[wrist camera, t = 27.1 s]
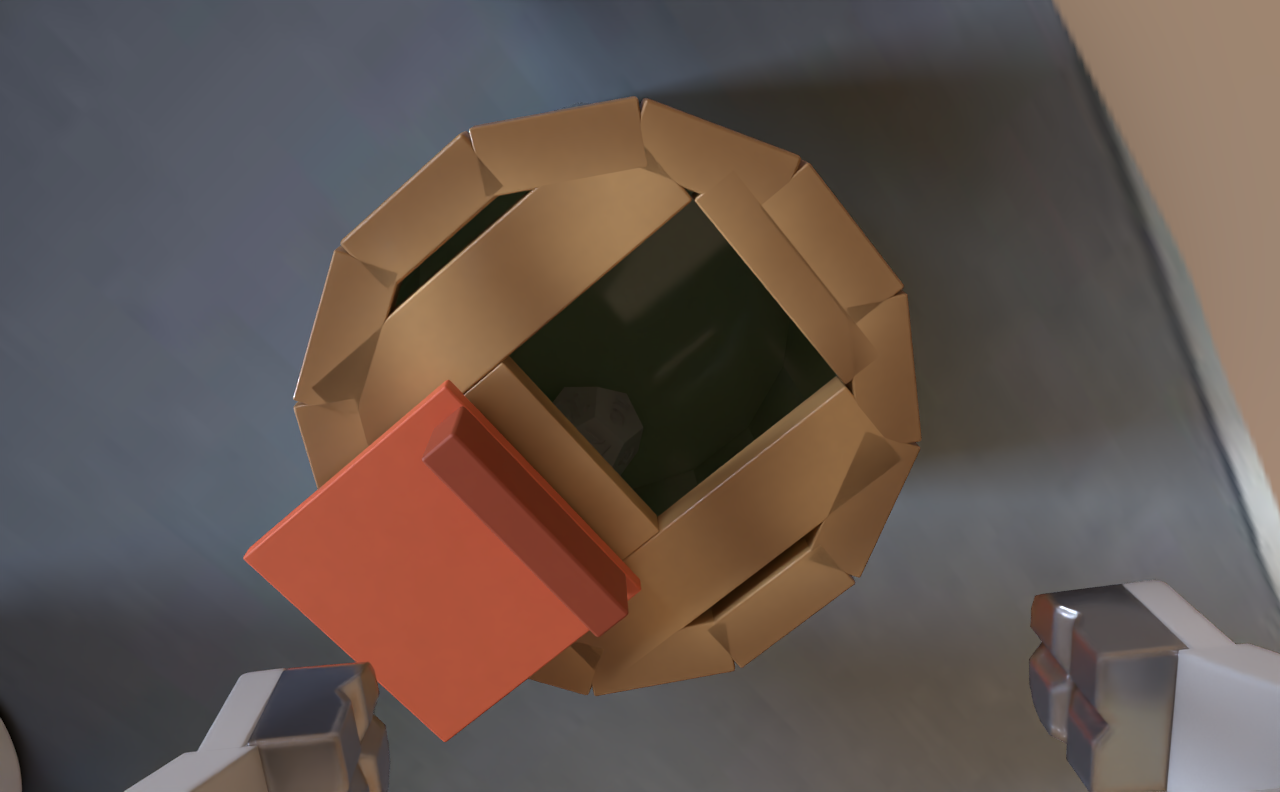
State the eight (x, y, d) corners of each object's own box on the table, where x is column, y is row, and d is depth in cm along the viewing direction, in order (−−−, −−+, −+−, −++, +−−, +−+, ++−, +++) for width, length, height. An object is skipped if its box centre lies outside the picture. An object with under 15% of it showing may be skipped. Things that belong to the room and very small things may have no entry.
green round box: (585, 569, 40) (585, 747, 30) (316, 291, 37) (207, 384, 26) (883, 333, 38) (996, 437, 28) (629, 11, 34) (648, -11, 24)
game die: (589, 376, 34) (589, 352, 37) (514, 454, 35) (520, 424, 38) (667, 444, 35) (660, 415, 38) (592, 518, 36) (591, 485, 39)
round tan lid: (583, 763, 30) (583, 786, 29) (184, 383, 26) (169, 395, 25) (1017, 438, 28) (1032, 452, 27) (650, -37, 24) (653, -41, 23)
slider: (447, 730, 28) (434, 795, 26) (248, 547, 26) (213, 599, 24) (641, 579, 27) (646, 631, 24) (448, 377, 25) (433, 412, 23)
